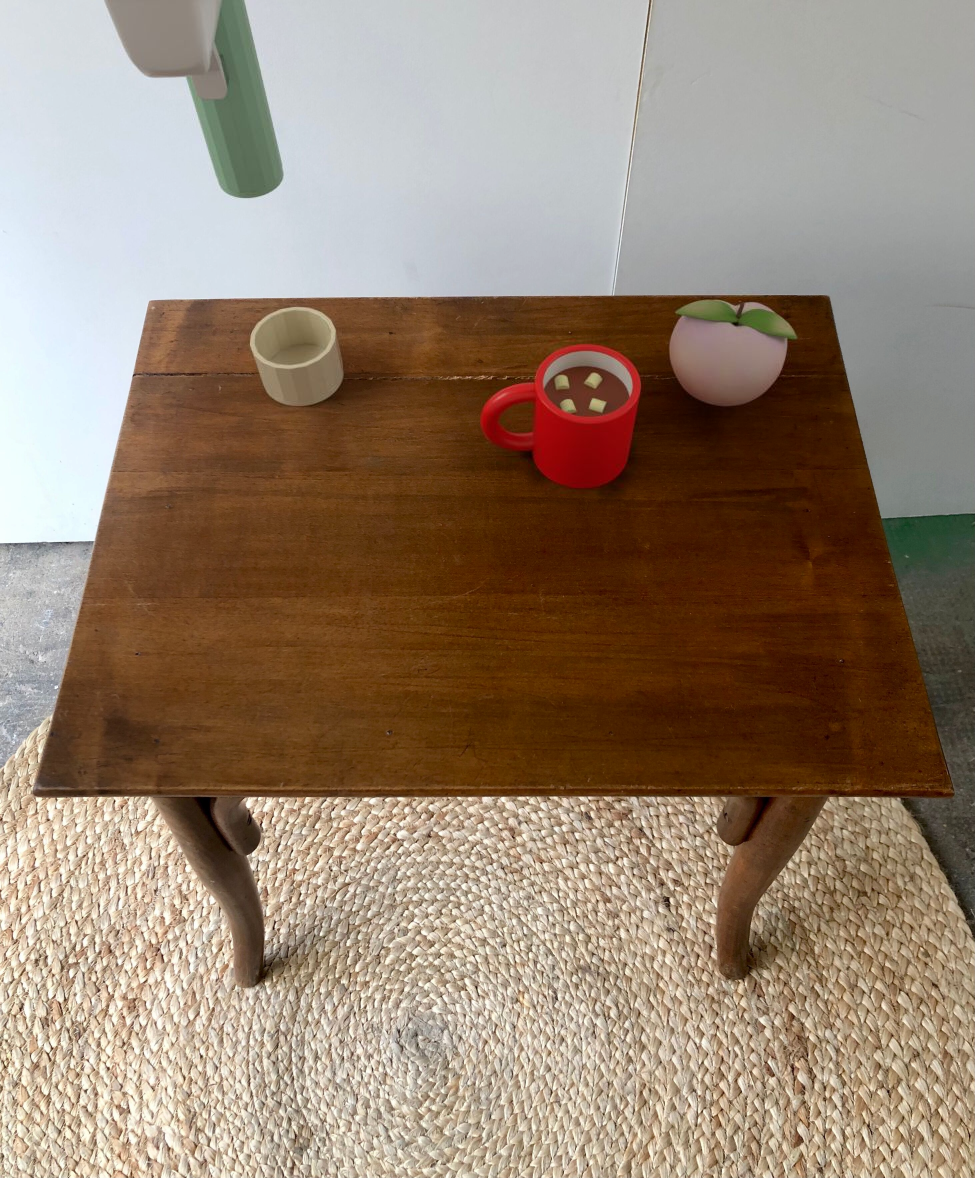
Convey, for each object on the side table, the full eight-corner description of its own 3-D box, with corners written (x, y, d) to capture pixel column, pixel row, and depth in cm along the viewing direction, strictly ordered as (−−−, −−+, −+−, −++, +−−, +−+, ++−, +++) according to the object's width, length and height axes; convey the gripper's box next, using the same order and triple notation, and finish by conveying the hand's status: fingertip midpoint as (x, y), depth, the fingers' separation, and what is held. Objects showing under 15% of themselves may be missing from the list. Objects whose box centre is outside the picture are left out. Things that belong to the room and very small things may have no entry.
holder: (259, 408, 76) (246, 370, 72) (265, 347, 80) (253, 308, 76) (342, 404, 76) (333, 366, 73) (345, 344, 80) (337, 304, 76)
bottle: (215, 199, 60) (108, -144, 44) (222, 158, 63) (122, -183, 46) (281, 197, 60) (198, -147, 44) (285, 156, 63) (208, -186, 46)
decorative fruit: (659, 430, 74) (679, 340, 66) (660, 358, 79) (679, 264, 70) (774, 439, 74) (810, 349, 65) (769, 365, 78) (803, 272, 69)
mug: (477, 420, 75) (474, 351, 69) (620, 409, 76) (631, 339, 69) (485, 496, 71) (484, 431, 65) (636, 484, 72) (650, 417, 65)
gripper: (110, -305, 48) (188, -22, 60) (29, -128, 38) (143, 171, 50) (229, -309, 48) (283, -26, 60) (181, -134, 38) (257, 166, 50)
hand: (219, 65), depth 55 cm, fingers closed on bottle, 4 cm apart
